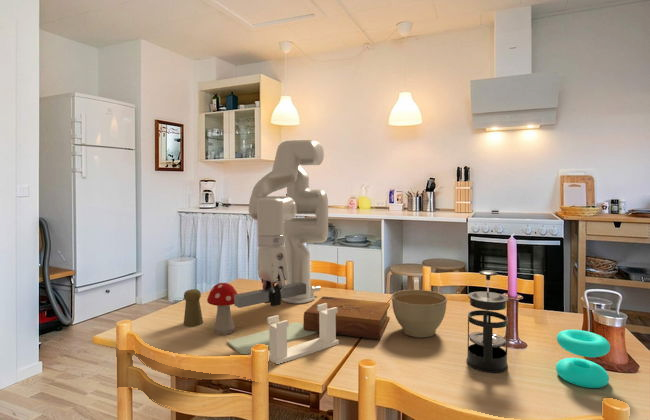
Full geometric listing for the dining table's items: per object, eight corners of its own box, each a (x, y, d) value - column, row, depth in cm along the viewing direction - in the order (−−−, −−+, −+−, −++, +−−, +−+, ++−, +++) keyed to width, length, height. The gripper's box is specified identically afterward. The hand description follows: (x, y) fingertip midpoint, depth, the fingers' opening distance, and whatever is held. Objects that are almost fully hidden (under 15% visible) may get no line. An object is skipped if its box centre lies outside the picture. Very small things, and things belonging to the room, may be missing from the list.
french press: (466, 352, 102) (467, 265, 101) (506, 357, 99) (507, 268, 97) (465, 372, 91) (467, 276, 90) (510, 379, 88) (512, 279, 86)
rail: (300, 291, 120) (300, 282, 120) (306, 293, 118) (306, 283, 118) (234, 305, 107) (234, 294, 107) (239, 307, 105) (238, 297, 104)
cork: (197, 327, 123) (195, 293, 122) (179, 326, 124) (178, 292, 123) (206, 320, 129) (205, 287, 128) (189, 319, 130) (188, 287, 129)
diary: (303, 331, 117) (303, 312, 116) (323, 312, 134) (322, 296, 134) (379, 340, 110) (379, 320, 109) (389, 319, 127) (389, 302, 127)
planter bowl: (447, 325, 121) (447, 291, 121) (445, 346, 106) (446, 307, 105) (395, 320, 127) (395, 287, 126) (387, 339, 111) (387, 301, 111)
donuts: (618, 347, 81) (564, 342, 84) (616, 393, 82) (562, 387, 84) (600, 329, 90) (551, 325, 93) (598, 371, 91) (550, 366, 94)
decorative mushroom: (201, 334, 117) (200, 285, 116) (219, 324, 125) (218, 278, 124) (229, 338, 113) (228, 288, 112) (246, 328, 121) (244, 281, 120)
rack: (327, 338, 113) (326, 302, 112) (339, 344, 108) (338, 307, 108) (266, 357, 100) (265, 318, 100) (277, 365, 96) (276, 323, 95)
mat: (297, 323, 125) (297, 321, 125) (316, 332, 117) (316, 330, 117) (227, 343, 110) (227, 341, 110) (243, 355, 102) (243, 353, 102)
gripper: (297, 242, 107) (298, 308, 108) (268, 237, 120) (269, 295, 121) (274, 245, 103) (275, 313, 104) (246, 239, 116) (247, 300, 117)
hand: (272, 303), depth 113 cm, fingers closed on rail, 3 cm apart
